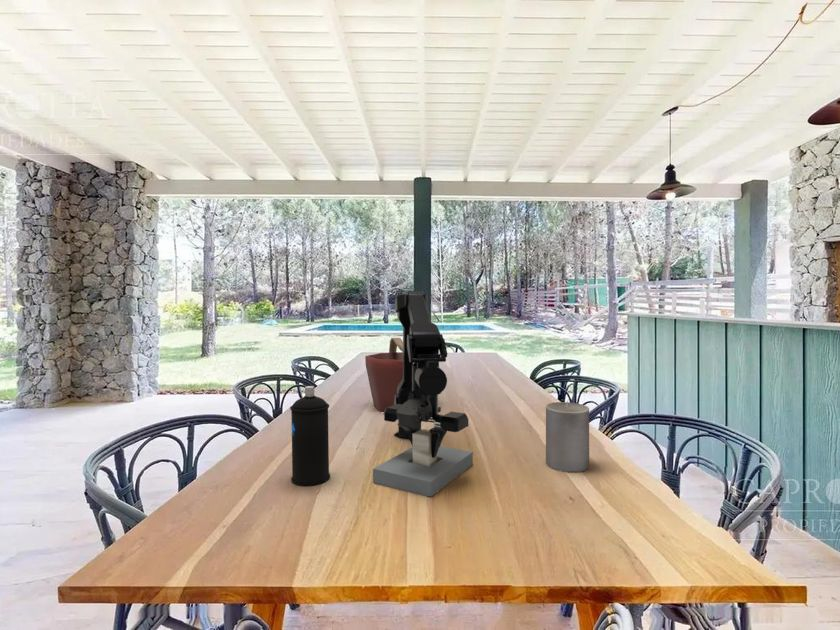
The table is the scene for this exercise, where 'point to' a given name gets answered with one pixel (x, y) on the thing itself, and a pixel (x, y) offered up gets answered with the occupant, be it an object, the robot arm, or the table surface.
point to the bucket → (385, 374)
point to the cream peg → (423, 448)
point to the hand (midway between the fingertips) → (425, 455)
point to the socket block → (422, 471)
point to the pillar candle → (567, 436)
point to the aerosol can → (310, 440)
